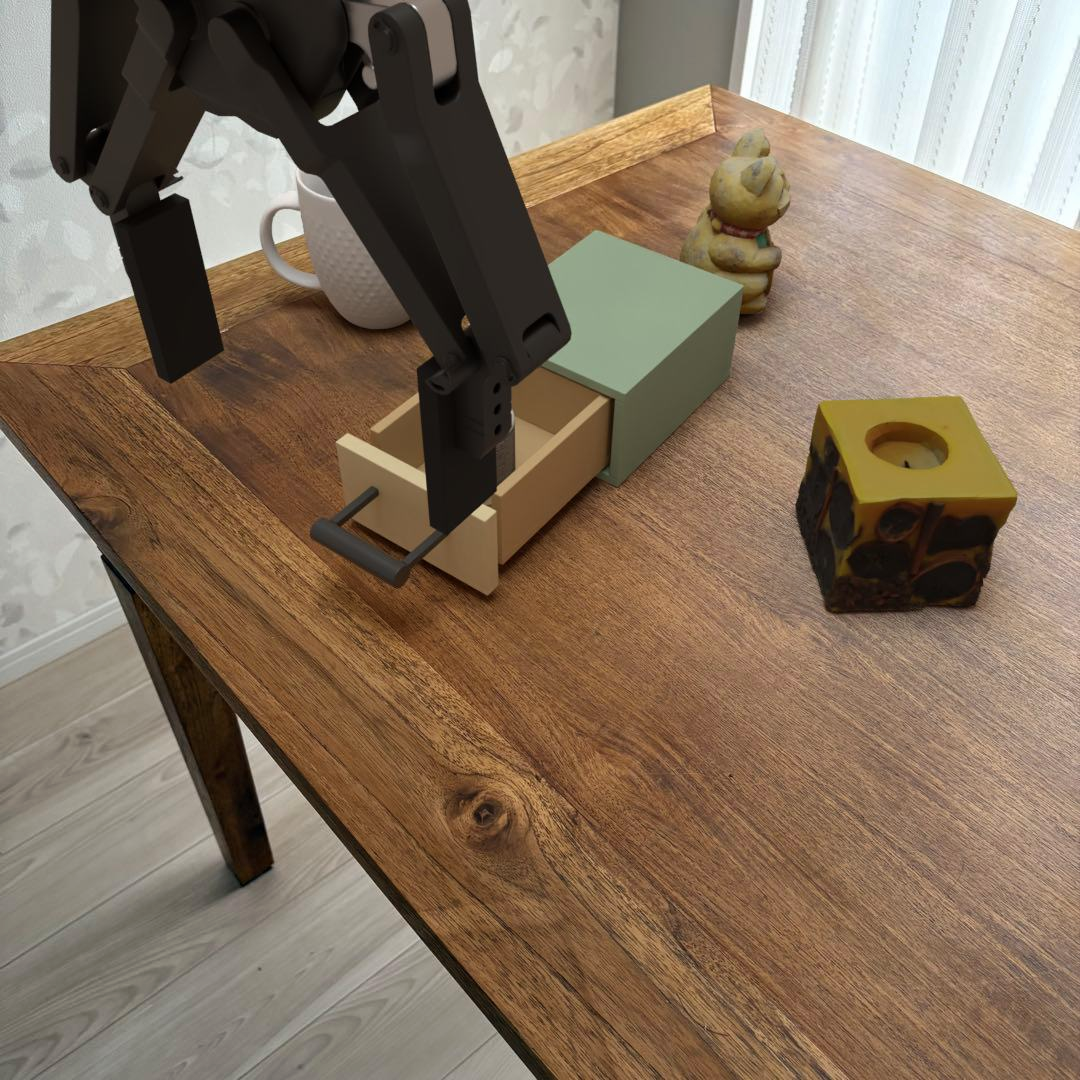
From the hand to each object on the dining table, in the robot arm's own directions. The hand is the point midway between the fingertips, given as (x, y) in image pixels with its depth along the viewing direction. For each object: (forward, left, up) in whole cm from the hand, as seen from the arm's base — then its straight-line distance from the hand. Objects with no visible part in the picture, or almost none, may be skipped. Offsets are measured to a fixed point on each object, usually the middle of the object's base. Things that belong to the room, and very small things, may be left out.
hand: (318, 432), depth 41 cm
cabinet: (+30, +28, -29) cm, 50 cm away
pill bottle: (+16, +21, -27) cm, 38 cm away
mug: (+18, +48, -29) cm, 59 cm away
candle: (+38, +4, -29) cm, 48 cm away
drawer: (+14, +20, -28) cm, 37 cm away
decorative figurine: (+46, +35, -29) cm, 65 cm away
